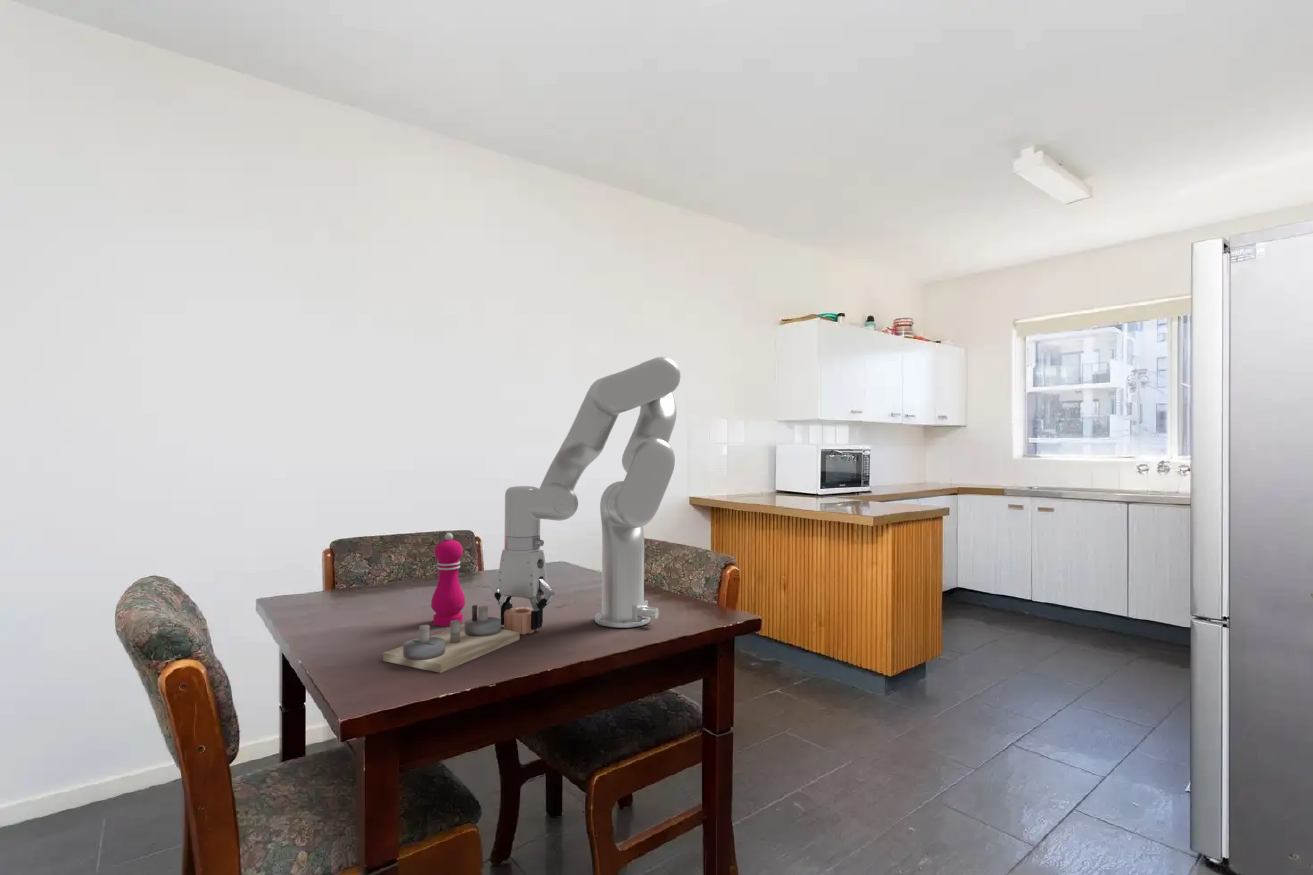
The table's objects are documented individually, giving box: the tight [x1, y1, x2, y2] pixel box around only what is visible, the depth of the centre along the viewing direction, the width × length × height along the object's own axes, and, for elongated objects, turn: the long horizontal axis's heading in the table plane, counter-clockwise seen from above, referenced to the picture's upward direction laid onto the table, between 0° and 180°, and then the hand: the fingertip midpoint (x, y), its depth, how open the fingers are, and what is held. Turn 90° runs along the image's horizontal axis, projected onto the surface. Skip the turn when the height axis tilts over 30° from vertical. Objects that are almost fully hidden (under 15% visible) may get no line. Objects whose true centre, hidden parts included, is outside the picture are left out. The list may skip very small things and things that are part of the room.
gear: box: [503, 606, 539, 635], centre depth 141 cm, size 7×7×4 cm
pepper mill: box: [430, 532, 466, 627], centre depth 146 cm, size 7×7×20 cm
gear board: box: [382, 604, 521, 674], centre depth 127 cm, size 14×23×6 cm, turn 154°
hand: (521, 625), depth 141 cm, fingers closed on gear, 7 cm apart
